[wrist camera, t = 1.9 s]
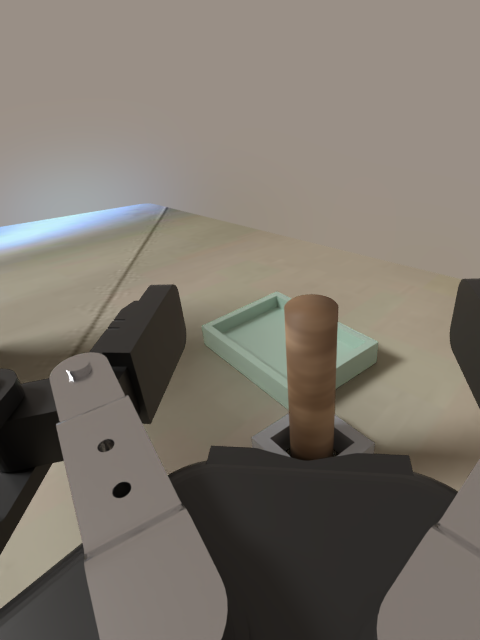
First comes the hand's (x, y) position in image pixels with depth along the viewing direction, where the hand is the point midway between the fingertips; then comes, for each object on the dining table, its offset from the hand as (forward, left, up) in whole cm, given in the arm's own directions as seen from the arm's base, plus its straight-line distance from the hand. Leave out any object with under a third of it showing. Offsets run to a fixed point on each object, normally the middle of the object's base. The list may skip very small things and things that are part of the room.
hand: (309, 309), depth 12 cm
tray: (-20, +16, -21) cm, 33 cm away
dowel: (-8, +8, -21) cm, 23 cm away
